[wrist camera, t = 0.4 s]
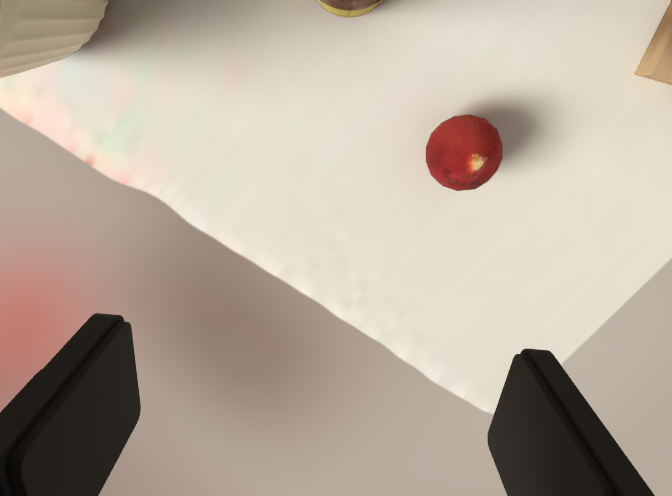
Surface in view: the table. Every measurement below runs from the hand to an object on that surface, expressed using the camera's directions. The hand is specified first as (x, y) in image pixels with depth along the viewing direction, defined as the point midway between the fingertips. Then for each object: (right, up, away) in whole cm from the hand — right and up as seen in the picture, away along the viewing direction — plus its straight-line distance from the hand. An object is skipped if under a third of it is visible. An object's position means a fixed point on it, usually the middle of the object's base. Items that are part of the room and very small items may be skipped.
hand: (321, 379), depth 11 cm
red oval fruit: (+10, +12, +27) cm, 31 cm away
